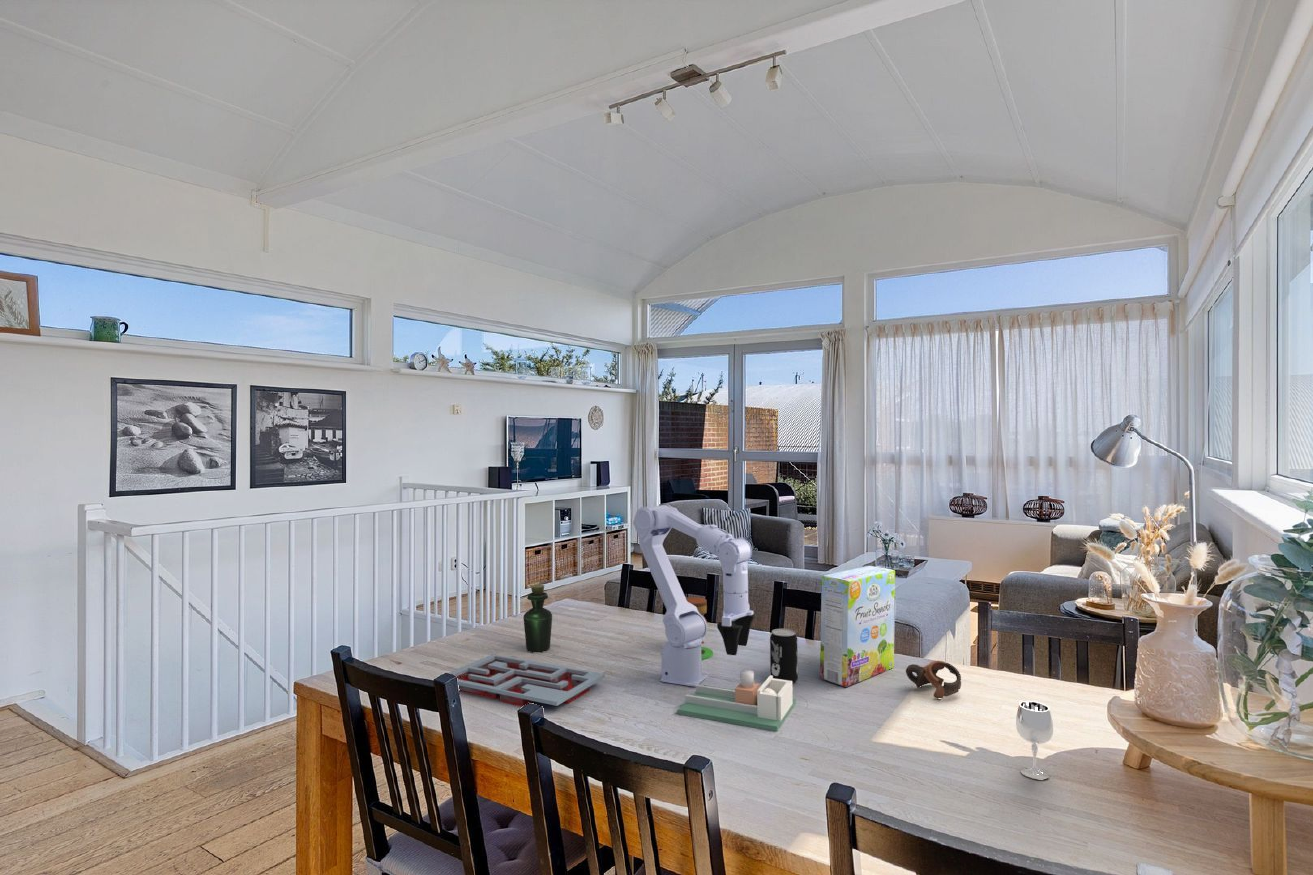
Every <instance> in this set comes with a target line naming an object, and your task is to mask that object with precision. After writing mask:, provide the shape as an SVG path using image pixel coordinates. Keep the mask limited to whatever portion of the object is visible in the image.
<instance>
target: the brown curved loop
mask: <svg viewBox="0 0 1313 875" xmlns="http://www.w3.org/2000/svg"><path fill="white" fill-rule="evenodd" d="M945 668H946V669H947V670H948V671H949V673H951V674H953V675H954V676H955V677H956V679H955V681H953V682H946V681H945V679H944V678H942V677H940V676H938V675H937V673H938V672H939V670H940V671H941V670H944V669H945ZM914 673H915V674H916V675H915V674H914ZM905 674H906V676H907V678H908V679H909V680H910V681H911V682H912V683H914V685H915V686H916V688H917V689H918V688H921V687H920V686H922V685H923V686H925V685H928V684H930V685H932V686H933V687H934V688H935V692H934V693H933V698H935V699H936V698H942V699H943V698H944V697H948V696H952V695H954V694H956V693H959V691H960V690H961V687H962V676H961V675H962V674H961V673H960V671H959V670H958V669H957V668H956V667H955V666H954V665H953V664H951V663H949V662H946V661H942V660H934V661H931V662H929V663H928V664H927V665H925V666H921V665H918V664H909V665H908V666H907V667H906V668H905ZM923 686H922V687H923Z"/></svg>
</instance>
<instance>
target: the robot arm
mask: <svg viewBox="0 0 1313 875" xmlns="http://www.w3.org/2000/svg"><path fill="white" fill-rule="evenodd" d="M632 524H633V527H634V529H635V531H636V534H637V537H638V544H639V548H640V550H641V552H642V554H643V558H644V560H645V562H646V564H647V567H648V570H649V572H650V573H651V576H652V578H653V580H654V583H655V585H656V587H657V590H658V593H659V595H660V597H661V599H662V602H663V604H664V607H665V609H666V612H665V614H664V616H663V619H662V622H663V624H664V628H665V629H664V630H665V633H664V634H665V637H666V639H667V641H666V642H665V643H664V644H663V646H662V649H661V679H660V682H662V683H669V684H675V685H681V686H688V687H694V688H696V685H701V683H702V682H703V681H704V680H705V679H707V677H708V674H704V673H702V660H701V647H702V644H701V642H703V641H704V640H703V638H704V637H706V634H707V632H708V623H706V620H707V619H706V618H705V619H706V620H705V619H704V617H705V616H704V615H703V616H704V617H703V616H702V615H701V614H700V613H699V612H698V610H697V607H696V606H694V605H692V604H691V603H689V602H688V601H687V600H686V596H685V593H684V591H683V589H682V587H681V584H680V582H679V579H678V577H677V574H676V572H675V571H674V568H673V566H672V563H671V562H670V559H669V557H668V554H667V552H666V550H665V548H664V546H663V543H664V541H665V539H666V537H668V534H669V533H670V531H671V529H675V530H676V531H679V532H680V533H683V534H685V535H687V536H689V537H691V538H694V539H695V541H696V544H697V546H698V547H700V548H702V550H703V549H704V550H706V551H707V552H709V553H711V554H712V555H714V556H716V557H717V558H718V560H719V563H720V564H721V570H722V577H723V578H722V582H723V586H722V587H723V595H722V596H723V610H722V617H721V621H719V622H718V623H716V628H717V630H718V631H719V634H720V635H721V637H722V642H723V644H724V648H725V652H726V655H728V656H737V654H738V649H739V647H738V646H740V647H746V646H747V644H748V642H749V641H748V640H749V635H750V630H751V626H752V624H753V622H754V620H755V617H756V616H755V614H754V610H752V609H750V603H749V572H748V571H749V569H748V568H749V567H748V562H749V561H750V560H751V558H752V556H753V549H752V548H753V547H752V545H751V543H750V542H749V541H748V540H747V539H745V537H741V536H740V537H736V538H735V537H734V536H733V534H731V533H726V532H725V531H722V530H721V529H718V525H716V524H714V523H713V524H705V525H704V526H702V525H701V524H700V523H699V522H696V521H695V520H693V519H691V518H689V516H686V515H685V514H683V513H682V512H680V511H679V510H678V508H677V507H674V506H671V505H670V504H667V503H664V504H661V505H653V506H642V507H639V508H638V509H637V510H636V512H635V515H634V518H633V523H632Z"/></svg>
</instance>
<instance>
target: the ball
mask: <svg viewBox="0 0 1313 875" xmlns="http://www.w3.org/2000/svg"><path fill="white" fill-rule="evenodd" d="M762 692H764V693H771V694H776V692H775V691H774V690H772V689H770V688H769V687H765V688H764V690H763V691H762Z"/></svg>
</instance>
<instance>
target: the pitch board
mask: <svg viewBox="0 0 1313 875" xmlns="http://www.w3.org/2000/svg"><path fill="white" fill-rule="evenodd" d="M796 704H797V699H796V698H793V704H792V705H791V707H790V708H789V710H788V711H787V713H786V714H785V716H784V717H783V719H782V720H781V721H778V720H772V719H766V718H760V717H758V715H757V706H755V705H749V704H743V703H737V702H735V688H734V689H733V688H727V687H720V686H715V685H713V686H712V685H708V684H703V685H702V684H699V685H696V687H695V692H694V693H693V694H685V695H684V703H683V704H682V705H681V706H680V707H678V708H677V715H679V716H686V717H693V718H699V719H702V720H709V721H715V722H719V723H726V724H732V725H736V726H737V725H738V726H744V727H749V728H755V729H760V730H767V731H772V732H778V731H779V730H780V728H781V727H782V725H783V723H784V722H785V720H786V719H787V718H788V716H789V715H790V713H791V712H792V711H793V708H794V707H795V706H796Z"/></svg>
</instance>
